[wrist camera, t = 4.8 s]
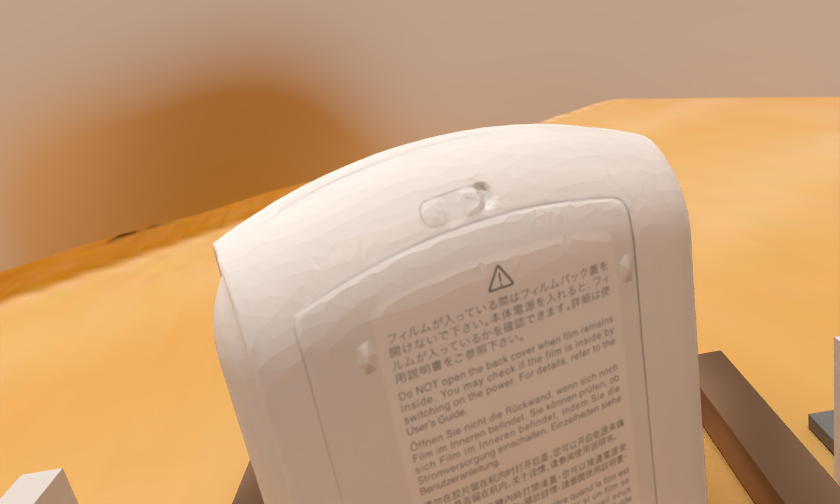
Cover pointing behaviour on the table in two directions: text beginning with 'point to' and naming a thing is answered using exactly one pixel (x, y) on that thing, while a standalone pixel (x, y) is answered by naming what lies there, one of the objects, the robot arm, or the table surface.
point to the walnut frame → (727, 443)
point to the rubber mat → (823, 427)
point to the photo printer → (470, 326)
